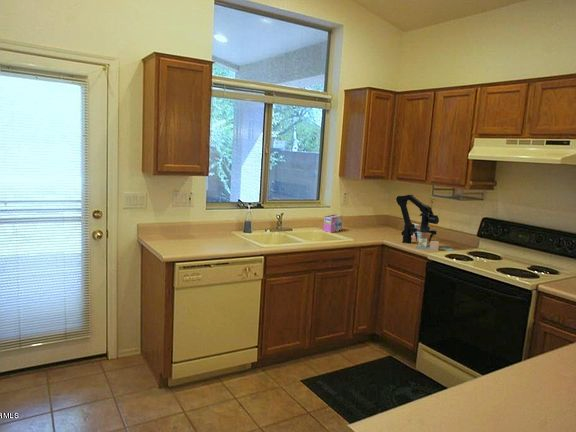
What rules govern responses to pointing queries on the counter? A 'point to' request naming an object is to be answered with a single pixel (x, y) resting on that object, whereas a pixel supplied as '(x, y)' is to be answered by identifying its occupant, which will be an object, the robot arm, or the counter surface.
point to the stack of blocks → (419, 233)
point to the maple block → (422, 242)
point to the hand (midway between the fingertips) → (422, 241)
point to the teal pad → (447, 248)
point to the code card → (424, 247)
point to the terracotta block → (434, 245)
